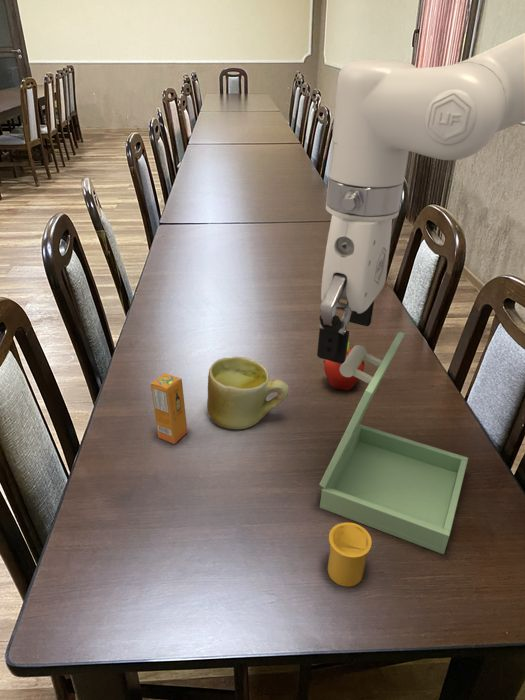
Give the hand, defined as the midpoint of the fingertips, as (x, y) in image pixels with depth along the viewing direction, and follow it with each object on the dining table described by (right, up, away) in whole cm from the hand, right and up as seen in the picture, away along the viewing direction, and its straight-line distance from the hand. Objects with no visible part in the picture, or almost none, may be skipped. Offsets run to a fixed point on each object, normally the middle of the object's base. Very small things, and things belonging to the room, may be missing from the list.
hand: (345, 340), depth 64 cm
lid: (+3, -9, +3) cm, 10 cm away
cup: (0, -26, -3) cm, 26 cm away
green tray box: (+8, -20, +8) cm, 23 cm away
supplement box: (-23, -14, +16) cm, 32 cm away
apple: (+4, -8, +28) cm, 29 cm away
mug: (-12, -12, +21) cm, 27 cm away
